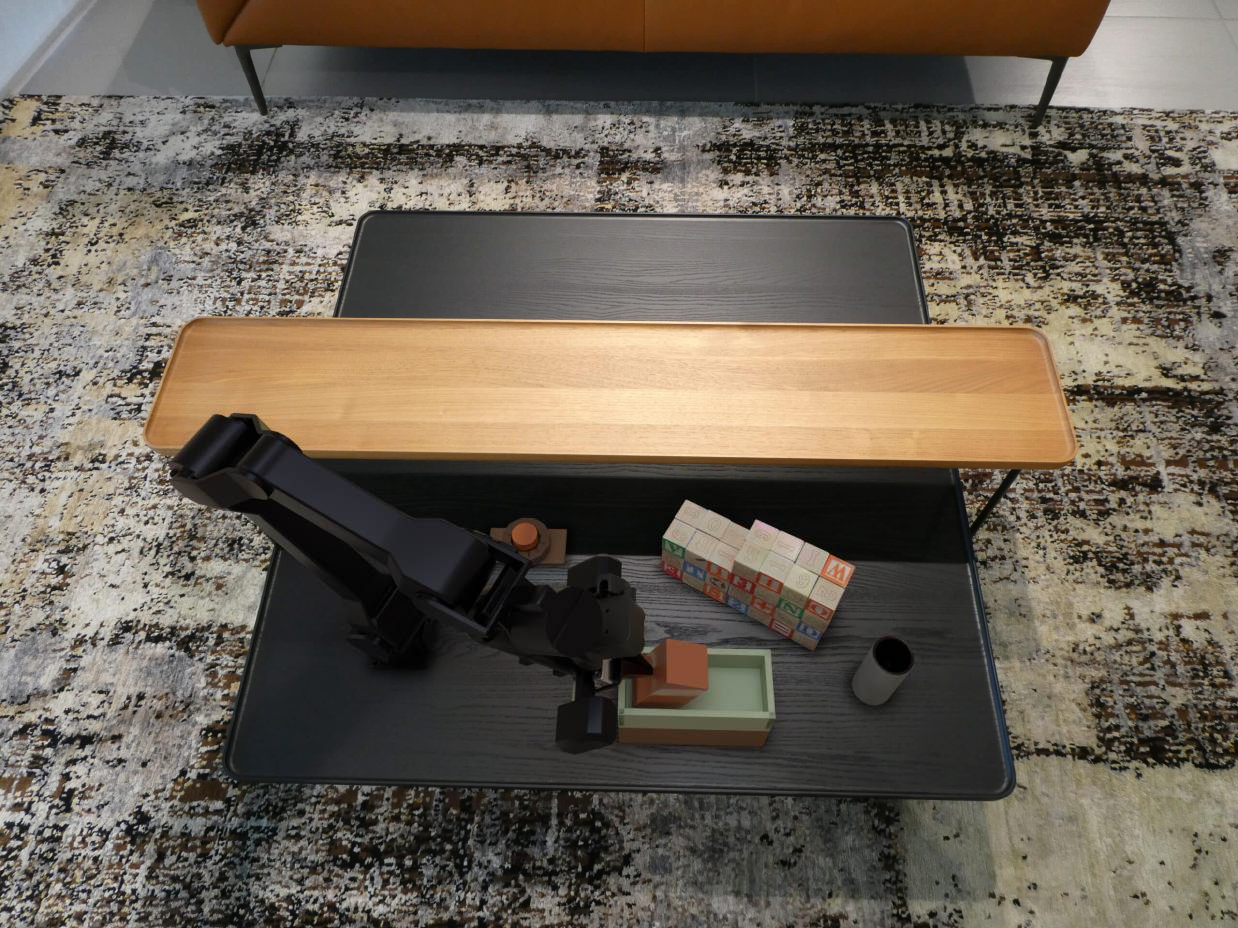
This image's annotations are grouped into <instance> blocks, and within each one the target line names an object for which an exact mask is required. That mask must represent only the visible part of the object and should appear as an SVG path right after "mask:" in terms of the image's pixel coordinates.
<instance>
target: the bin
mask: <svg viewBox="0 0 1238 928" xmlns="http://www.w3.org/2000/svg"><path fill="white" fill-rule="evenodd" d="M656 647H657V646H644V649H643V651H642V652H641V653H640V654H641V655H642V656H643V657H645V656H646V655H647V654H648V653H650V652H651V651H652V650H653V649H654V648H656ZM707 653H708V685H709V689H708V690H707V691H705V692H704V693H702V694H701V695H699V696H698V697H696V698H695V699H693V700H692V701H690V702H689V703H687V704H685V705H684V706H682V707H681V708H679V709H637V708H632V683H633V679H626V680H622V682H621V683H620V685H619V686H618V695H617V697H618V698H617V727H618V742H619V744H647V745H648V744H649V745H682V746H683V745H687V746H689V745H690V746H722V747H723V746H726V747H763V746H764V744H765V742H766V741H767V737H768V736H769V734H770V732H771V729H772V727H773V725H774V722H775V720H776V718H777V717H776V707H775V705H776V704H775V691H774V678H773V666H772V664H773V663H772V650H771V649H757V648H755V649H754V648H715V647H713V648H712V647H711V648H710V647H707Z"/></svg>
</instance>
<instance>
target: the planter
mask: <svg viewBox="0 0 1238 928" xmlns="http://www.w3.org/2000/svg"><path fill="white" fill-rule="evenodd" d="M915 655H916V654H915V651H914V649H913V647H912V646H911V645H910V643H908V641H906V639H904V638H902V637H899V636H898V635H897V636H896V635H892V634H891V635H883V636H881V637H879V638H878V639H877V640H876V641H874V643H873V645H872V647H871V648H870V649H869V651H868V653H867V654H866V656H865V657H864V659H863V660H862V662H861V663H860V665H859V666H858V669H857V670H856V671H855V673H854V675H853V677H852V679H851V687H852V688H851V689H852V691H853V693H854V695H855V697H856V698H857V699H858V700H859V701H860V702H861V703H864V704H866V705H868V706H880V705H883V704H885V703H886V702H887V701H888V700H889V699H890V697H891V696H892V695H893V694H894V693H895V692H896V690H897V688H899V686H900V685H901V684H902V683H903V681H904V680H905V679H906V677H907V676H908V675H909V673H910V672H911V671H912V670H913V668H914V666H915V663H916V656H915Z"/></svg>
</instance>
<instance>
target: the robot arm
mask: <svg viewBox="0 0 1238 928" xmlns="http://www.w3.org/2000/svg"><path fill="white" fill-rule="evenodd" d="M167 466H168V468H169V469H170V472H169V477H170V478H171V479H170V480H169V484H170V485H171V486H172V487H173V488H174V489H175V490H176V491H177V492H178V493H180V494H181V495H182V496H183V497H185V498H187V500H189V501H191V502H193V503H195V504H198V505H200V506H205V507H207V508H208V509H212V510H219V511H225V512H229V513H230V512H231V513H237V514H243V515H244V516H245V517H246V518H248V519H249V520H250V521H251V522H252V523H253V524H255V525H256V526H257V527H258V528H259V529H260V530H262V531H263V532H264V533H265V534H266V535H268V537H270V538H271V539H272V540H273V541H274V542H276V543H277V544H278V545H279V546H281V547H282V548H283V549H284V550H285V551H286V552H288V553H289V554H290V555H291V556H293V558H294V559H296V560H297V561H298V562H299V563H301V564H302V565H303V566H304V567H305V568H306V569H308V570H309V571H310V572H311V573H312V574H314V576H316V577H317V578H318V579H319V580H321V581H322V582H323V584H325V585H327V586H328V587H329V588H330V589H331V590H332V591H333V592H335V594H336V595H338V596H339V597H340V598H341V599H342V603H343V607H344V612H345V617H346V622H347V624H348V625H349V626H351V628H350V629H349V631H348V632H347V634H346V635H345V637H344V639H345V640H346V641H347V642H348V643H349V644H350V645H351V646H353V647H354V648H355V649H358V650H360V651H362V652H364V653H366V654H368V655H370V656H372V657H371V665H370V666H371V667H372V668H373V669H375V670H409V671H410V670H413V671H417V670H418V671H422V670H425V669H426V668H427V662H428V656H429V654H430V653H431V652H432V648H433V647H432V646H433V641H434V635H435V633H434V630H433V625H434V621H433V620H435V621H437V622H440V623H441V624H444V625H446V626H450V627H451V628H453V629H455V630H458V631H461V632H463V633H466V634H467V635H468V636H469V637H470V638H471V639H472V640H473V641H475V642H477V644H479V645H482V646H485V647H488V648H491V649H494V650H497V651H499V652H503V653H506V654H509V655H512V656H514V657H517V658H518V664H520V665H523V666H525V667H529V666H532V665H534V664H537V665H540V666H543V667H545V668H549V669H552V673H551V674H552V676H555V677H558V678H563V677H566V676H571V677H572V689H571V691H572V692H571V701H569V702H565V703H562V704H559V705H557V711H556V712H557V714H556V725H555V726H556V727H555V739H554V741H555V745H556V747H557V748H558V749H559V750H560V752H563V753H568V754H570V755H575V756H576V755H579V754H580V755H581V754H583V753H588V752H592V751H595V750H599V749H602V748H607V747H610V746H612V745H613V744H614V742H615V741H616V739H617V731H618V728H617V727H618V707H616V705H615V703H614V701H613V699H612V698H610V697H607V696H603V695H600V696H599V695H596V694H599V693H602V692H605V691H608V690H611V689H614V688H618V687H619V685H620V683H621V682H622V680H626V679H635V678H643V677H649V676H652V675H653V667H652V666H651V665H650V663H649V662H648V661H647V660H646V659H645V658H644V657H643V656H642V655H641V654H640V653H641V652H642V651H643V649H644V647H646V646H645V645H646V641H645V640H646V639H645V620H646V613H645V610H644V609H643V608H642V607H641V606H639V604H638V603H637V588H636V587H634V586H631V583H630V582H629V581H627V580H626V579H625V578H623V577H622V576H623V575H622V572H623V562H622V561H621V560H620V559H618V558H616V557H614V556H612V555H610V554H608V553H598V554H595V555H594V556H591V557H589V558H587V559H585V560H582V561H580V562H579V563H577V564H574V565H572V566H571V567H569V568H568V569H567V572H566V573H567V575H566V586H564V585H563V586H560V585H559V586H556V585H555V586H550V585H549V584H546V583H545V584H537V585H536V584H535V583H533V582H531V581H530V580H529V579H528V578H526V576H527V575H528V573H529V571H530V570H531V568H532V567H533V566H532V564H533V562H532V561H531V560H529V559H527V558H525V557H523V556H521V555H520V554H519V551H518V548H516V547H514V546H512V545H509V544H507V543H505V542H502V541H500V540H498V539H495V538H493V537H491V536H490V535H489V534H486V533H484V532H481V531H479V530H473V529H471V528H469V527H459V526H458V525H455V524H453V523H452V522H449V521H447V520H445V518H415V517H413V516H411V515H409V514H407V513H405V512H403V511H401V510H399V509H398V508H396V507H394V506H393V505H391V504H389V503H387V502H386V501H384V500H382V499H381V498H379V497H377V496H376V495H374V494H372V493H370V492H369V491H367V490H365V489H364V488H363V487H361V486H359V485H357V484H355V483H354V482H353V481H350V480H349V479H347V478H345V477H344V476H342V475H341V474H339V473H337V472H335V471H334V470H332V469H330V468H328V467H327V466H325V465H324V464H322V463H320V462H318V461H316V460H315V459H313V458H312V457H311V456H308V455H307V454H306V453H304V452H303V450H302V449H301V447H300V445H298V444H297V443H296V442H295V441H293V440H292V439H291V438H290V437H288V436H287V435H285V434H283V433H282V432H279V431H276V430H272V429H271V428H270V427H269V426H268V425H267V424H266V423H265V422H264V421H263V420H262V418H260V417H259V416H258V415H257V414H256V413H243V412H231V413H230V414H229V415H228V416H227V415H223V414H221V413H219V414H218V413H214V414H212V415H211V416H210V417H209V419H207V420H206V422H205V423H204V424H203V425H202V426H201V427H200V428H199V429H198V430H197V431H196V432H195V433H194V435H192V436H191V438H190V439H189V440H188V441H187V442H186V443H185V444H184V445H183V446H182V448H181V449H179V451H178V452H177V453H176V454H175V455H174V456H173V457H172V458H171V459H170V460H169V462H168V465H167ZM362 553H363V554H365V555H367V556H368V557H370V558H371V559H373V560H375V561H377V562H378V563H379V564H381V565H383V566H384V567H386V569H388V571H385V570H380V569H379V568H377V567H376V566H375V565H374V564H373V563H372V562H371V561H370V560H368V558H366V557H365V555H363V554H362ZM496 561H498V562H500V563H503V564H502V565H504V567H503V568H502V570H501V571H500V573H499V574H498V576H497V578H496V579H495V581H494V582H493V583H490V584H488V582H489V581H490V579H491V578H492V576H493V574H494V573H495V571H496V570H497V568H498V564H497V562H496ZM375 664H376V665H375ZM421 665H422V666H421Z"/></svg>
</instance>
